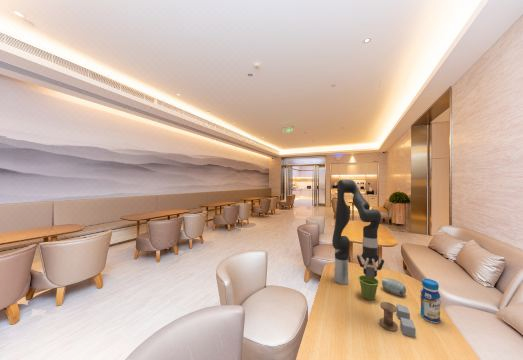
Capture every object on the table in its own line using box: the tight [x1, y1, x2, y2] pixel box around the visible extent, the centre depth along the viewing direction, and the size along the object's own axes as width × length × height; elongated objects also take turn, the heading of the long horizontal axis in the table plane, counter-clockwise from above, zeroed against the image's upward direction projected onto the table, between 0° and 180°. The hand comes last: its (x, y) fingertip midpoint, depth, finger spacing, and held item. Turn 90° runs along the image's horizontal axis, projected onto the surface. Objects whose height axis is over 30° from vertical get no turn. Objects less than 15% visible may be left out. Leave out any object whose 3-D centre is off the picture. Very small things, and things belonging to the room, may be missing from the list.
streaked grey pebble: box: [381, 277, 407, 297], centre depth 130 cm, size 14×10×10 cm
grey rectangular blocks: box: [395, 304, 416, 339], centre depth 102 cm, size 5×18×4 cm, turn 154°
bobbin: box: [378, 301, 399, 332], centre depth 101 cm, size 8×8×10 cm
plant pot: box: [358, 274, 380, 301], centre depth 125 cm, size 12×12×11 cm
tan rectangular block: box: [366, 263, 376, 279], centre depth 110 cm, size 4×4×7 cm
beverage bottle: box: [419, 278, 442, 324], centre depth 106 cm, size 8×8×20 cm
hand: (370, 275), depth 110 cm, fingers closed on tan rectangular block, 4 cm apart
